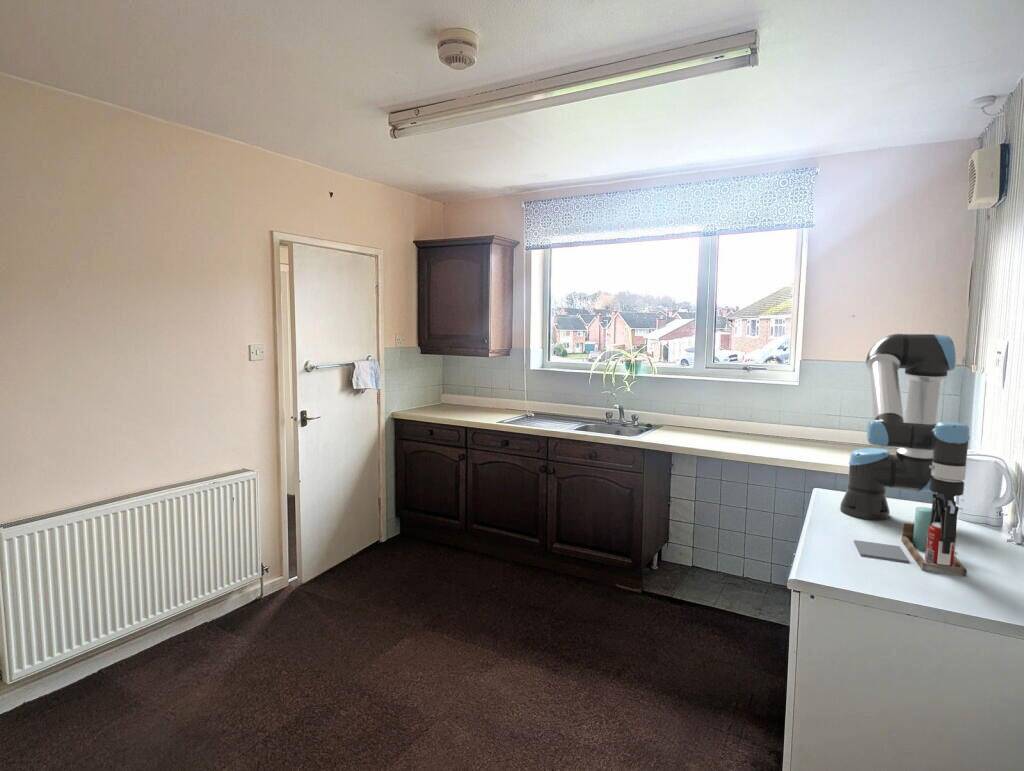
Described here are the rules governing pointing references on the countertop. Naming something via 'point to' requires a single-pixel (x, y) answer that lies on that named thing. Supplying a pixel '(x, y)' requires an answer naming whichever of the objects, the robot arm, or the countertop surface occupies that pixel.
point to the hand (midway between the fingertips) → (939, 559)
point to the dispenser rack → (907, 541)
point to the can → (921, 527)
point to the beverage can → (936, 544)
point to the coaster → (881, 551)
